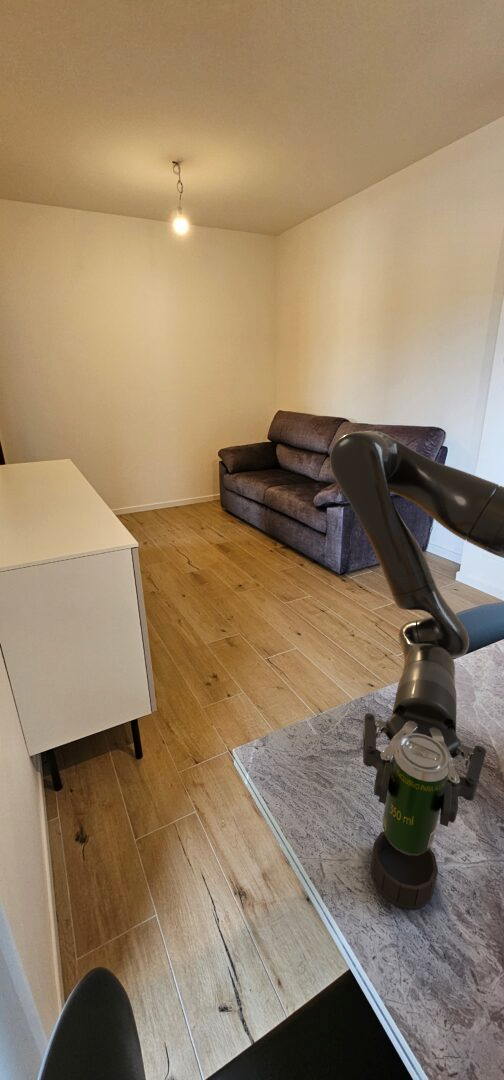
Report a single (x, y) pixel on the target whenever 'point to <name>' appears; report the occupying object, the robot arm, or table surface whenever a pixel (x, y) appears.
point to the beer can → (415, 793)
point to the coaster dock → (403, 875)
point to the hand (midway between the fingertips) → (413, 807)
